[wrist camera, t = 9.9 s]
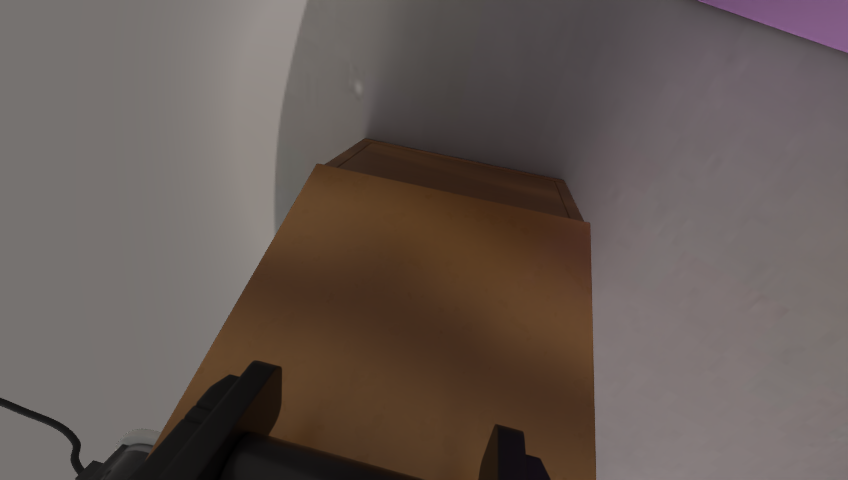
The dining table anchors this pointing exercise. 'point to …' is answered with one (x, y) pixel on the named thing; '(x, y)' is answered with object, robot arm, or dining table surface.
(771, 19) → the teapot
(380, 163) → the wooden storage box
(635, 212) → the dining table surface
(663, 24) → the dining table surface
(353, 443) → the wooden box lid
